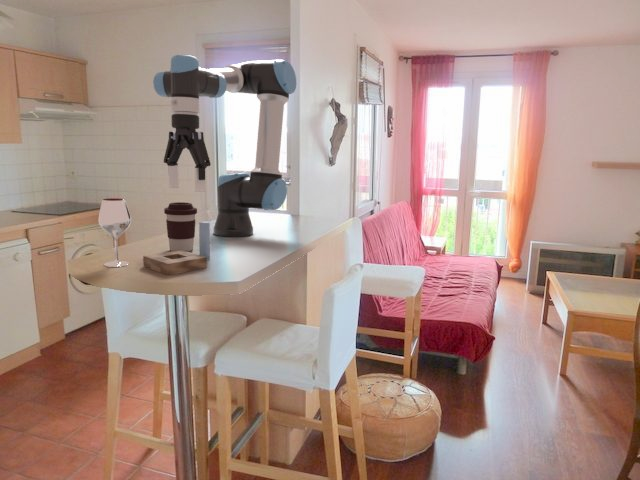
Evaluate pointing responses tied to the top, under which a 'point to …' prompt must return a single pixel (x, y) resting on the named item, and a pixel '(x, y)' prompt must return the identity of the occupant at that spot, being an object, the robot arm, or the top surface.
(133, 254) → the top surface
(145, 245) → the top surface
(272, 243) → the top surface
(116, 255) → the wineglass
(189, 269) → the hole block
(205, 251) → the peg
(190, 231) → the coffee cup
